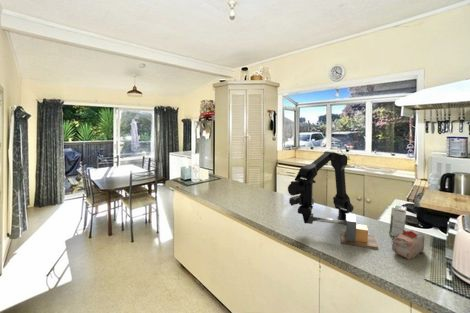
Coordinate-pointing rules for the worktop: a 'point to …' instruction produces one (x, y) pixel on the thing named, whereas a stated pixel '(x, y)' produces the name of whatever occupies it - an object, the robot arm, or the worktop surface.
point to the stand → (350, 234)
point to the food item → (408, 244)
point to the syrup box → (397, 220)
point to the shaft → (325, 220)
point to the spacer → (361, 233)
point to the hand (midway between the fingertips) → (305, 221)
